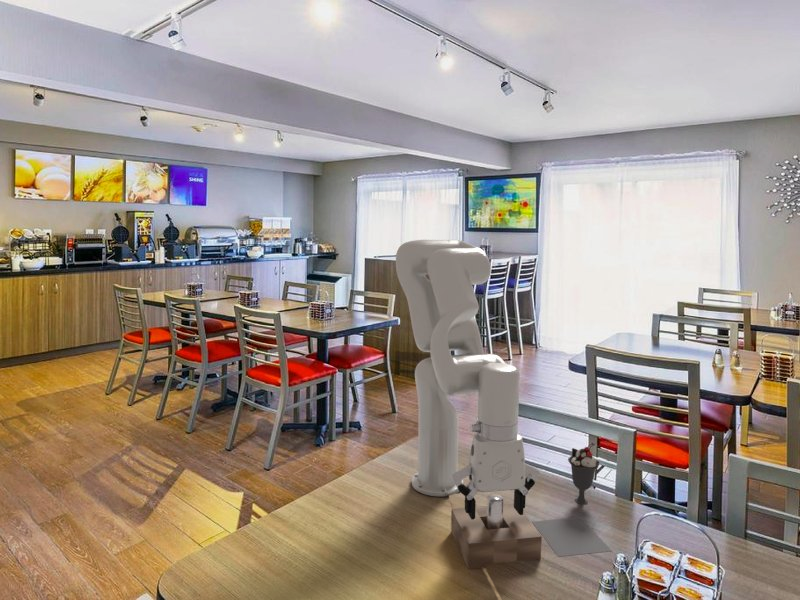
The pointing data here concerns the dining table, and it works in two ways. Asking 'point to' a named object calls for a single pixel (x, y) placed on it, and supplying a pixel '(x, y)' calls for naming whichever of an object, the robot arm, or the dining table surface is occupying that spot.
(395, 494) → the dining table surface
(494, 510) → the peg
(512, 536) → the hole block
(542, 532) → the mat
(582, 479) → the sundae
